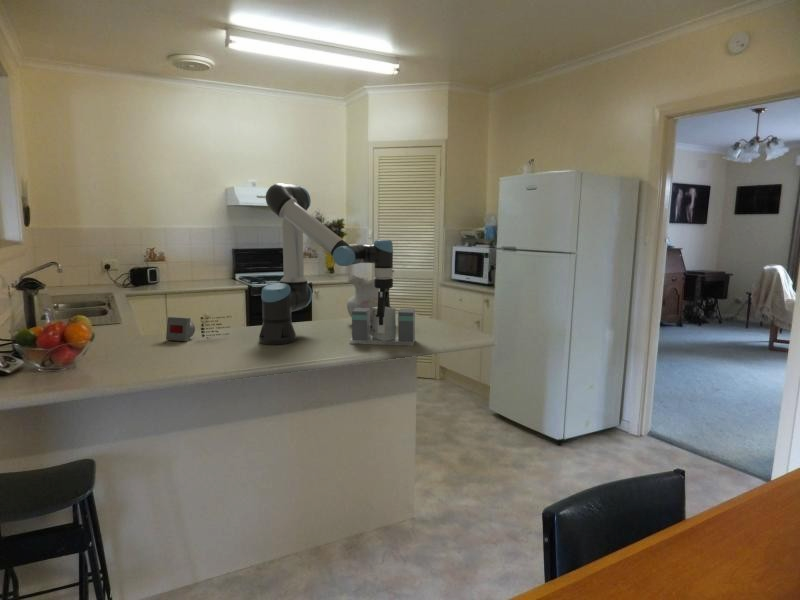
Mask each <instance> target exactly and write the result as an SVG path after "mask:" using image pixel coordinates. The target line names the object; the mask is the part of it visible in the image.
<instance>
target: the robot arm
mask: <svg viewBox="0 0 800 600" xmlns="http://www.w3.org/2000/svg"><path fill="white" fill-rule="evenodd" d="M311 201H312V200H311V195H310V193H309V192H308V190H307V189H306V188H305V187H303V186H301V185H298V184H294V183H292V184H290V183H289V184H288V183H279V182H278V183H273V184H272V185H270V187H269V188H268V189H267V190H266V193H265V203H266V205H267V206H268V208H269V209H270V210H271V211H272V213H274V214H275V215H277V217H278V218H279V219H280V220H281V222H282V224H281V225H282V227H281V228H282V229H281V230H282V256H283V257H282V259H283V261H282V262H283V267H282V268H283V276H282V278H281V279H280V280H279V281H280V283H272V284H268V285H265V286H264V287H262V289H261V297H260V298H261V311H262V312H261V313H262V324H261V328H260V332H259V335H258V338H259V339H258V342H259V343H260V344H262V345H269V346H271V345H275V346H276V345H277V346H279V345H287V344H292V343H294V342H296V340H297V334H296V331H295V328H294V325H293V323H292V312H296V311H300V310H303V309H304V308H306V307H307V306H309V304H310V303H311V302H312V299H313V291H312V288H311V287H310V286H309V284H308V279H307V278H306V276H305V275H304V273H305V271H304V266H305V265H304V234H305V236H307V237H308V238H309V239H310V240H312V241H313V242H314V243H315V244H316V245H318V246H319V247H321V248H322V249H323V250H324V251H325V252H327V253H328V254H329V255H330V256H332V259H333V262H334V263H335V264H336V265H338V266H340V267H349V266H352V265H357V264H373V265H374V267H373V270H374V271H373V273H374V274H373V277H374V286H375V288H379V292H378V307H377V315H376V317H378V333H385V317H384V312H385V306H386V307H391V303H390V302H391V300H390V289H391V288H393V287H394V280H393V277H394V276H393V274H394V273H395V269H394V262H393V261H394V258H393V257H394V249H393V241H392V240H390V239H375V240H374V242H373V244H363V243H360V244H359V243H352V244H349V243H348V242H347V241H346V240H344V239H343V238H342V237H340V236H339V235H338V234H336V233H335V232H333V230H331V229H330V228H329V227H327V226H326V225H325V224H324V223H322V222H321V221H320V220H319V219H318V218H316V217H314V215H312V214H311V213H309V212H308V211H307V210H308V209H309V208H310V206H311V203H312V202H311ZM389 288H390V289H389Z"/></svg>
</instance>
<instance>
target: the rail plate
mask: <svg viewBox="0 0 800 600" xmlns="http://www.w3.org/2000/svg"><path fill="white" fill-rule="evenodd" d="M415 341H416V337H415V338H414V341H413V342H403V341H398V335H397V336H396V339H393V340H388V341H382V340H378V339H375V338H372V335H370V337H369V338H368V339H367V340H352V337H351V338H350V339H349V344H351V345H381V346H382V345H383V346H410V347H413V346H414V343H415Z"/></svg>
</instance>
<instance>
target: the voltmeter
mask: <svg viewBox="0 0 800 600" xmlns="http://www.w3.org/2000/svg"><path fill="white" fill-rule="evenodd" d="M232 317H233V316H232V315H229V316H228V315H227V316H217V319H216V317H206V318H205V317H202V316H201V317H200V321H202V323H201V328H200V332H201V337H202V338H205V333H206V340H209V339H210V337H209V336H212V337H213V336H221V333H219V329H228V328H230V329H231V326H222V322H221V323H217V322H219V320H218V319H222V318H224V319H225V318H227V319H229V318H232ZM204 318H205V320H206V321H205V323H206V324H205V327H206V328H205V327H204V321H203V320H204ZM211 318H212V319H213V320H212V322H213V323H216V325H215V326H218V327H217V330H212V329H213V327H209V328H207V326H213V323H211V324H209V323H210V320H209V319H211ZM214 319H216V320H214ZM166 323H167V325H166V332H165V333H166V335H165V336H166V337H165V340H167V341H178V342H186V341H188V342H189V340H190V338H192V337H193V336H194V334H195V332H196V326H195V323H193V321H192V320H191V317H182V316H181V317H180V316H167V322H166ZM207 323H208V324H207ZM220 325H221V327H219V326H220ZM205 330H208V331H205ZM210 330H212V331H210ZM215 332H216V334H212V333H215ZM207 333H211V334H207ZM222 335H223V336H225V335H230V333H228V332H227V333H222Z"/></svg>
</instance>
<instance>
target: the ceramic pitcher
mask: <svg viewBox="0 0 800 600" xmlns="http://www.w3.org/2000/svg"><path fill="white" fill-rule="evenodd" d="M374 279H375V278H374ZM374 279H370V280H368V279H366V278H364V277H359V276H356V275H354V274H350V275H348V279H347V281H348V283H350V284H352V285H353V286H354V288H355V291H354V294H353V295H352V296H351V297H350V298H348V300H347V302H346V309H347V312H348V314H349V316H350V318H352V311H353V310H354V309H355V308H370V327H372V307H378V292H380V289H379V288H375V286H374ZM390 289H391V288H389V290H390Z"/></svg>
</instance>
